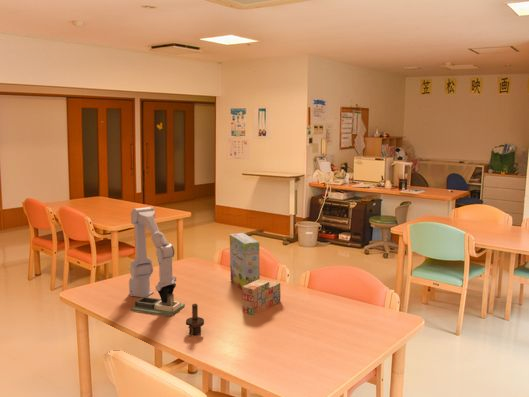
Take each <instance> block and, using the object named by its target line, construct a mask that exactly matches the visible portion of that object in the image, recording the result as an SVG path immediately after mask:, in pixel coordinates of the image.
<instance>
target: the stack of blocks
mask: <svg viewBox="0 0 529 397" xmlns="http://www.w3.org/2000/svg"><path fill="white" fill-rule="evenodd" d="M241 291H242V293H241V294H242V295H241V296H242V298H241V300H242V301H241V302H242V306H241V307H242V311H241V312H242V313H244V314H248V315H251V316H255V315H257V314H259V313H261V312H262V311H265V310H267V309H268V308H270V307H272V306H274V305H275V304H277V303H280V302H281V282H278V281H274V280H268V281H267V280H263V279H260V280H259V279H258V280H256V281H254V282H252V283H249V284H247V285H245V286H243V287H242V289H241Z"/></svg>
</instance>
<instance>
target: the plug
mask: <svg viewBox="0 0 529 397" xmlns="http://www.w3.org/2000/svg"><path fill="white" fill-rule="evenodd" d="M174 295H175V294H174V293H173V294H168V296H167V303H162V305H164V306H171V307H173V306H174V301H175V300H174V298H175V297H174Z"/></svg>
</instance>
